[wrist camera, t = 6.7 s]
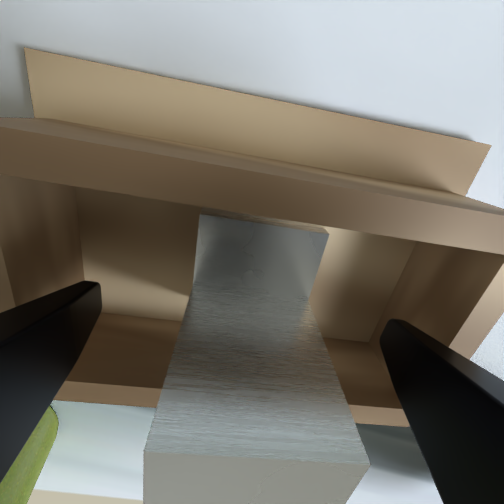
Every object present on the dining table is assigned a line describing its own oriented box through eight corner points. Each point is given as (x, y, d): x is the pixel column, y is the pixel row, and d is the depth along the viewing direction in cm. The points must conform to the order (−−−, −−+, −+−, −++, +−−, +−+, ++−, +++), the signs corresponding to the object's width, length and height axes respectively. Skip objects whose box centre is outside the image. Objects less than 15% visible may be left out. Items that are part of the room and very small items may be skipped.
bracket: (286, 309, 12) (336, 516, 6) (196, 298, 12) (143, 510, 5) (313, 214, 10) (434, 367, 4) (207, 197, 10) (144, 336, 3)
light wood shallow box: (362, 373, 15) (401, 453, 11) (77, 345, 13) (16, 428, 10) (477, 143, 10) (615, 156, 6) (38, 52, 8) (-123, -4, 5)
